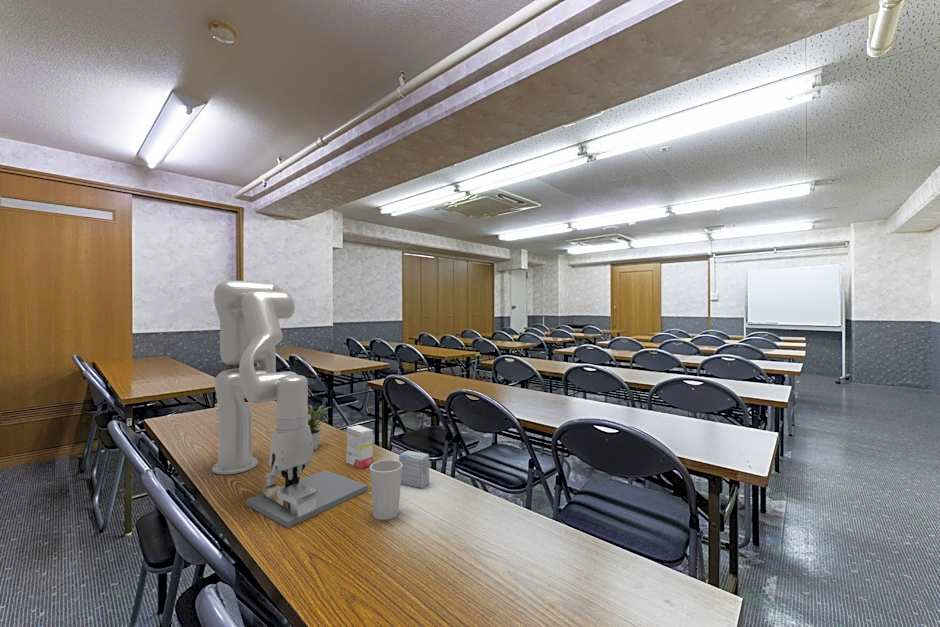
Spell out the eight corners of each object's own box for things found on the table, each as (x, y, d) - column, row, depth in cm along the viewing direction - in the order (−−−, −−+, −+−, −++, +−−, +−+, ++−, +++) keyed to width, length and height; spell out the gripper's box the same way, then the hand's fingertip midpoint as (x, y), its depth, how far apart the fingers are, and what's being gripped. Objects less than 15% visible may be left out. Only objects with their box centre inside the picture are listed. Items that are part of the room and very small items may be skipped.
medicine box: (429, 483, 119) (429, 453, 119) (421, 489, 115) (421, 459, 115) (407, 478, 122) (407, 449, 122) (398, 484, 118) (398, 454, 118)
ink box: (373, 465, 133) (373, 429, 133) (360, 469, 129) (361, 432, 129) (358, 458, 138) (358, 424, 138) (345, 462, 135) (345, 427, 134)
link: (260, 493, 107) (260, 486, 107) (273, 489, 110) (273, 481, 110) (287, 509, 99) (287, 501, 99) (301, 504, 102) (301, 495, 102)
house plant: (342, 446, 150) (342, 403, 150) (309, 458, 138) (309, 410, 138) (317, 440, 157) (317, 398, 157) (284, 450, 146) (284, 405, 146)
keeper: (277, 508, 100) (277, 490, 100) (299, 499, 105) (299, 482, 105) (295, 518, 96) (296, 499, 96) (318, 508, 101) (318, 490, 101)
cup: (407, 508, 104) (408, 462, 104) (391, 524, 96) (392, 473, 96) (380, 503, 106) (380, 458, 106) (363, 518, 99) (363, 469, 99)
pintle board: (246, 505, 105) (246, 478, 105) (325, 474, 125) (325, 451, 125) (288, 528, 94) (288, 497, 94) (367, 490, 114) (367, 465, 114)
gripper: (309, 414, 115) (308, 479, 115) (256, 427, 102) (256, 499, 103) (325, 419, 111) (325, 485, 111) (272, 432, 98) (272, 507, 98)
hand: (292, 492), depth 107 cm, fingers closed
